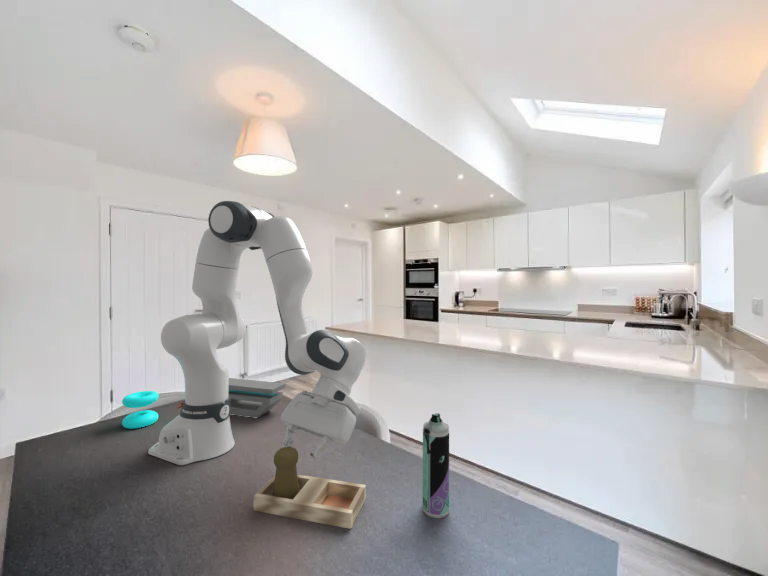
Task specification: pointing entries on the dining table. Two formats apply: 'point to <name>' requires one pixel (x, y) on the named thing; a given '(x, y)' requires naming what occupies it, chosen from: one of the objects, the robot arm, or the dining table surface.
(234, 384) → the grey lidded container
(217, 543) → the dining table surface
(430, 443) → the spray can
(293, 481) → the olive round-headed peg
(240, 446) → the dining table surface
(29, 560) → the dining table surface
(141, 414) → the donuts
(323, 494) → the socket rail
